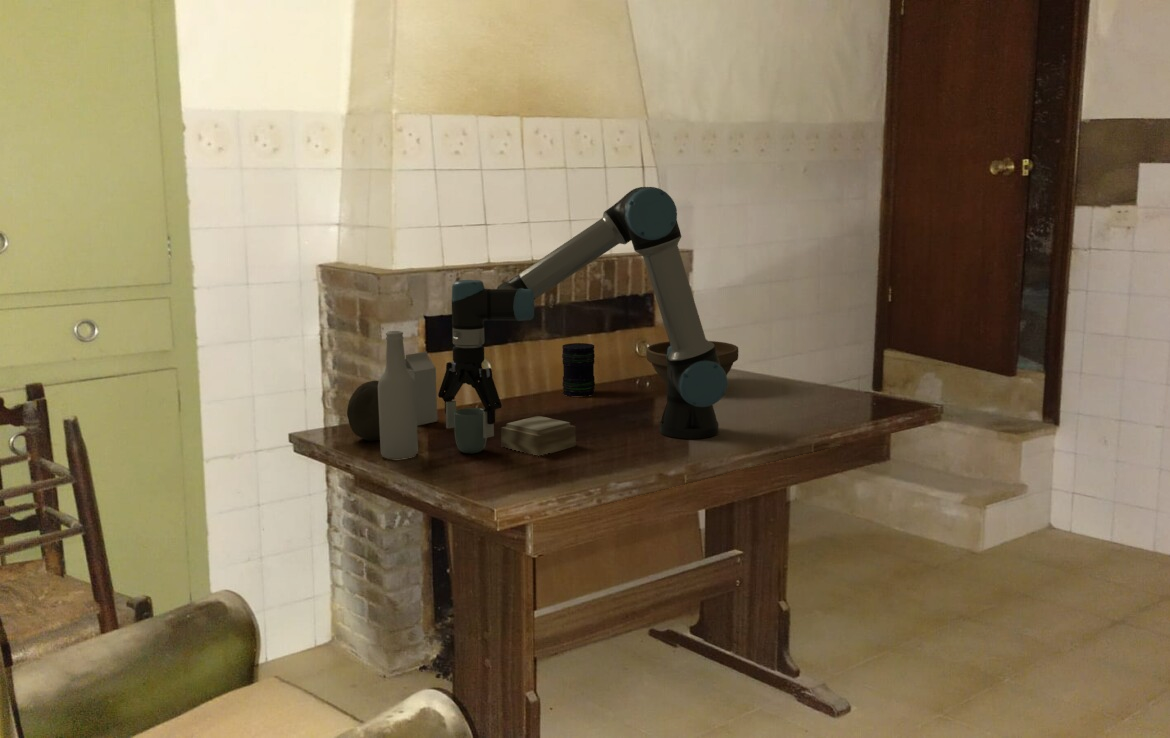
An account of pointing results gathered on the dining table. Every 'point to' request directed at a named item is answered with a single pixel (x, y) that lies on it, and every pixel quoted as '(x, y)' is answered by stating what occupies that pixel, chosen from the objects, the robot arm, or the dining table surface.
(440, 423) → the dining table surface
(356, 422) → the black ball
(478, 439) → the cup
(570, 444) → the pedestal
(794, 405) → the dining table surface
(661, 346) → the flower pot
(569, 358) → the storage jar
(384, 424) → the alcohol
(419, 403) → the milk carton
